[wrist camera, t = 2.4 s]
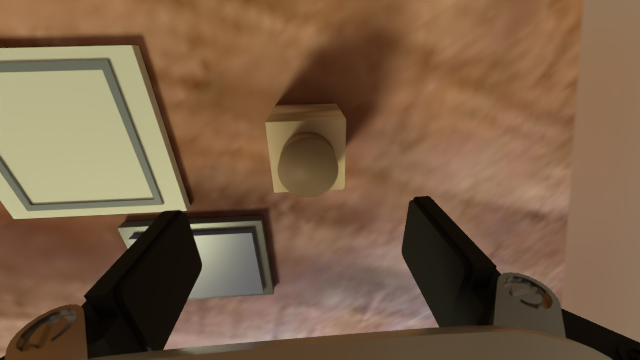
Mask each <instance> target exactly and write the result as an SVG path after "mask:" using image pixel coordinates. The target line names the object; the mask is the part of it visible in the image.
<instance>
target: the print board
mask: <svg viewBox="0 0 640 360" xmlns="http://www.w3.org/2000/svg"><path fill="white" fill-rule="evenodd" d="M0 201H1V202H2V203H3V205H4V206H5V207H6V209H7V210H8V211H9V213H10V214H11V215H12V217H13V218H14V219H24V218H44V217H65V216H85V215H106V214H127V213H147V212H163V211H169V210H181V211H187V210H188V208H189V207H190V204H189V200H188V197H187V194H186V191H185V188H184V185H183V182H182V179H181V176H180V172H179V169H178V166H177V163H176V160H175V157H174V154H173V151H172V148H171V145H170V141H169V138H168V135H167V132H166V129H165V126H164V123H163V120H162V117H161V113H160V110H159V107H158V104H157V101H156V98H155V95H154V92H153V89H152V86H151V82H150V79H149V76H148V73H147V70H146V67H145V64H144V61H143V58H142V55H141V51H140V48H139V46H136V45H120V46H76V47H33V48H0Z"/></svg>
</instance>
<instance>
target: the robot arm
mask: <svg viewBox="0 0 640 360" xmlns="http://www.w3.org/2000/svg"><path fill="white" fill-rule="evenodd" d="M402 255H403V258H404V260H405V262H406V264H407V266H408V268H409V270H410V271H411V273H412V275H413V277H414V279H415V281H416V283H417V285H418V287H419V289H420V291H421V293H422V295H423V296H424V298H425V300H426V302H427V304H428V306H429V308H430V310H431V312H432V314H433V316H434V318H435V319H436V321H437V323H438V325H439V327H438V328H421V329H408V330H395V331H382V332H369V333H357V334H344V335H331V336H319V337H307V338H295V339H283V340H271V341H259V342H248V343H236V344H225V345H214V346H203V347H191V348H180V349H169V350H163V349H164V347H165V345H166V343H167V341H168V338H169V336H170V334H171V332H172V330H173V328H174V326H175V324H176V322H177V320H178V318H179V316H180V314H181V312H182V310H183V308H184V305H185V303H186V301H187V299H188V297H189V295H190V293H191V291H192V289H193V287H194V285H195V283H196V281H197V279H198V277H199V275H200V272H201V270H202V261H201V258H200V254H199V251H198V248H197V245H196V242H195V239H194V236H193V232H192V229H191V226H190V223H189V220H188V217H187V215H186V214H185V213H183V212H182V211H181V210H169V211H163V212H162V213H161V214H160V215H159V216H158V217H157V218H156V219H155V221H154V222H153V223H152V224H151V225H150V226H149V227H148V228H147V229H146V230H145V231H144V232H143V233H142V234H141V235H140V237H139V238H138V239H137V240H136V241H135V242H134V243H133V244H132V245H131V246H130V247H129V248H128V249H127V250H126V251H125V253H124V254H123V255H122V256H121V257H120V258H119V259H118V260H117V261H116V262H115V263H114V264H113V265H112V266H111V268H110V269H109V270H108V271H107V272H106V273H105V274H104V275H103V276H102V277H101V278H100V279H99V280H98V281H97V282H96V284H95V285H94V286H93V287H92V288H91V289H90V290H89V291H88V292H87V293H86V294H85V295H84V297H85V298H86V300H87V301H86V302H85V303H84V304H83V305H82V306H79V305H77V304H69V305H65V306H61V307H58V308H55V309H53V310H50V311H48V312H46V313H44V314H42V315H40V316H39V317H37V318H35V319H34V320H33V321H31V322H30V323H28V324H27V325H26V326H24V327H23V328H22V329H21V330H20V331H19V332H18V333H17V334H16V335H15V336H14V337H13V338H12V340H11V341H10V343H9V345H8V347H7V350H6V355H5V356H3V357H2V358H0V360H640V343H639V342H637V341H635V340H632V339H630V338H628V337H625V336H623V335H621V334H619V333H616V332H614V331H612V330H609V329H607V328H605V327H602V326H600V325H598V324H596V323H593V322H591V321H589V320H587V319H584V318H582V317H580V316H577V315H575V314H573V313H571V312H568V311H566V310H564V309H561V306H560V302H559V300H558V298H557V297H556V295H555V294H554V293H553V292H552V291H551V290H550V289H549V288H548V287H546V286H545V285H544V284H542V283H541V282H539V281H537V280H536V279H533V278H531V277H529V276H526V275H523V274H519V273H512V272H509V273H503V274H502V275H501V274H500V273H499V271H498V270H497V269H496V267H497V266H496V265H495V264H494V263H493V262H492V261H491V260H490V259H489V258H488V257H487V256H486V255H485V254H484V253H483V252H482V251H481V250H480V249H479V248H478V246H477V245H476V244H475V243H474V242H473V241H472V240H471V239H470V238H469V237H468V236H467V235H466V234H465V233H464V232H463V231H462V230H461V229H460V228H459V227H458V226H457V225H456V223H455V222H454V221H453V220H452V219H451V218H450V217H449V216H448V215H447V214H446V213H445V212H444V211H443V210H442V209H441V208H440V207H439V206H438V205H437V204H436V203H435V202H434V200H433V199H432V198H431V197H429V196H421V197H414V199H413V200H411V201H410V202H409V207H408V213H407V219H406V225H405V232H404V238H403V244H402Z"/></svg>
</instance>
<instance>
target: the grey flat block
mask: <svg viewBox="0 0 640 360" xmlns="http://www.w3.org/2000/svg"><path fill="white" fill-rule="evenodd" d="M188 220H189V223H190V226H191V229H192V232H193V236H194V239H195V242H196V245H197V248H198V251H199V254H200V258H201V261H202V270H201V272H200V275H199V277H198V279H197V281H196V283H195V285H194V287H193V289H192V291H191V293H190V295H189V297H188V299H204V298H220V297H237V296H253V295H269V294H274V281H273V275H272V269H271V263H270V256H269V250H268V244H267V238H266V231H265V225H264V219H263V215H249V216H229V217H209V218H189V219H188ZM154 221H155V220H149V221H129V222H123V223H122V224H121V225H120V226H119V227H118V230H119V232H120V234H121V236H122V238H123V240H124V242H125V244H126V246H127V248H129V247H130V246H131V245H132V244H133V243H134V242H135V241H136V240H137V239H138V238H139V237H140V235H141V234H142V233H143V232H144V231H145V230H146V229H147V228H148V227H149V226H150V225H151V224H152V223H153V222H154ZM188 299H187V300H188Z"/></svg>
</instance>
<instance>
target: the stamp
mask: <svg viewBox="0 0 640 360" xmlns="http://www.w3.org/2000/svg"><path fill="white" fill-rule="evenodd" d="M265 124H266V131H267V139H268V147H269V155H270V163H271V171H272V179H273V187H274V193H276V192H291V193H293V194H295V195H298V196H301V197H315V196H318V195H321V194H323V193H325V192H326V191H328V190H340V189H344V183H345V146H346V118H345V117H344V115H343V114H342V112H341V110H340V109H339V107H338V106H337V104H336V103H312V104H282V105H275V107H274V109H273V110H272V112H271V114H270V115H269V117H268V119H267V120H266V122H265Z"/></svg>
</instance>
